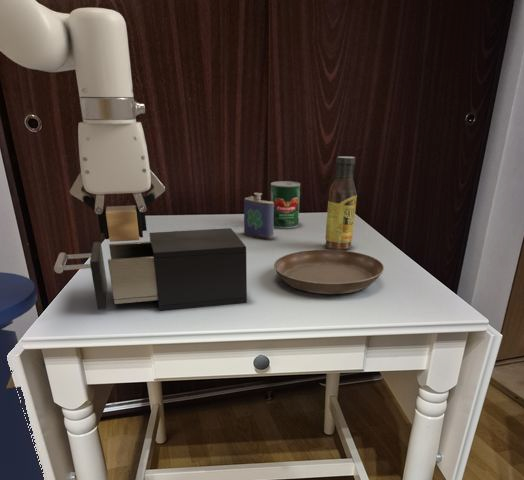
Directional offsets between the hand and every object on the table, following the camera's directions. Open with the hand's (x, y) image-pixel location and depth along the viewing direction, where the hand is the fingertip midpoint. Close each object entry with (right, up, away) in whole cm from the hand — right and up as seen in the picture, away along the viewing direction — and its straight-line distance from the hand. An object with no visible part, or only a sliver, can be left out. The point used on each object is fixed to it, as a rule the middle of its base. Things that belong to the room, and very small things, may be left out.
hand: (124, 235), depth 79 cm
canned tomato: (+29, +15, +54) cm, 63 cm away
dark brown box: (+11, -9, +8) cm, 16 cm away
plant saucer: (+35, -5, +14) cm, 38 cm away
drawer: (-1, -9, +4) cm, 10 cm away
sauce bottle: (+41, +5, +35) cm, 54 cm away
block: (0, 0, 0) cm, 0 cm away
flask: (+21, +10, +43) cm, 49 cm away
